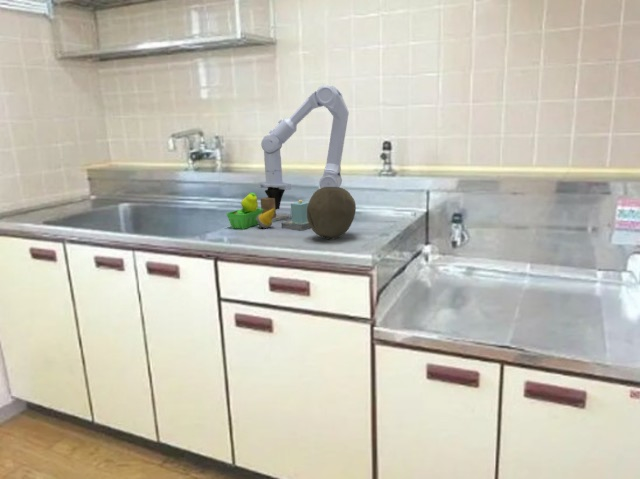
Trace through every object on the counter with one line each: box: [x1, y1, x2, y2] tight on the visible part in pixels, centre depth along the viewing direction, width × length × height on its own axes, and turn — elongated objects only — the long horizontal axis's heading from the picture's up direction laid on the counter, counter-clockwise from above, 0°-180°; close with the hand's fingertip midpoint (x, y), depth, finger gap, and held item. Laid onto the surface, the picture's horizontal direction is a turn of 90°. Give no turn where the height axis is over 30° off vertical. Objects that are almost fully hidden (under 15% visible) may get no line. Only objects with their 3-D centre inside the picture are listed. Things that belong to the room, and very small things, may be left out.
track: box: [272, 213, 290, 222], centre depth 188 cm, size 11×4×1 cm, turn 138°
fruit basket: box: [225, 192, 263, 230], centre depth 179 cm, size 11×9×11 cm
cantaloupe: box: [307, 187, 357, 240], centre depth 155 cm, size 14×14×15 cm
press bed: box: [280, 220, 312, 231], centre depth 175 cm, size 10×9×2 cm
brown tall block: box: [260, 196, 277, 218], centre depth 186 cm, size 3×4×7 cm
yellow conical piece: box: [256, 208, 275, 229], centre depth 174 cm, size 5×5×10 cm
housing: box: [290, 199, 309, 223], centre depth 174 cm, size 4×4×7 cm
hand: (276, 209), depth 189 cm, fingers closed, pressing on brown tall block
